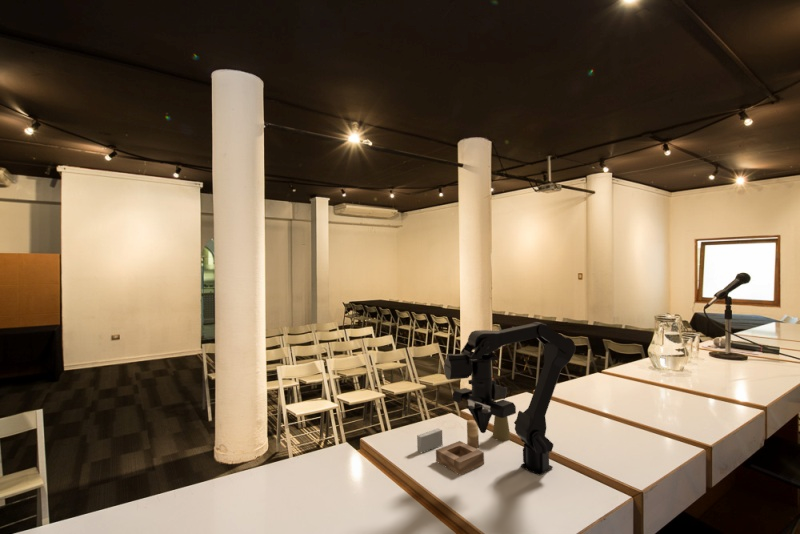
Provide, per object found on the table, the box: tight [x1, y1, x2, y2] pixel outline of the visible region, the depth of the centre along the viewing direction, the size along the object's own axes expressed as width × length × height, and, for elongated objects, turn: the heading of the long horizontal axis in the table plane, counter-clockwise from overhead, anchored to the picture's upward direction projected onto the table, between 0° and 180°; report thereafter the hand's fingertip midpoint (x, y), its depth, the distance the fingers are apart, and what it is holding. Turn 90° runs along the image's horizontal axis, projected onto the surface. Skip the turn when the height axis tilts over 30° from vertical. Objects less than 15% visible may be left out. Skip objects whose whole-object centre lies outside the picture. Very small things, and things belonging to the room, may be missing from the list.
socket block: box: [435, 440, 485, 475], centre depth 117 cm, size 10×10×4 cm
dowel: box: [466, 419, 480, 450], centre depth 128 cm, size 4×4×8 cm
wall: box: [416, 427, 443, 453], centre depth 127 cm, size 2×9×5 cm, turn 126°
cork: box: [492, 416, 512, 442], centre depth 134 cm, size 6×6×11 cm
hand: (483, 432), depth 109 cm, fingers closed
